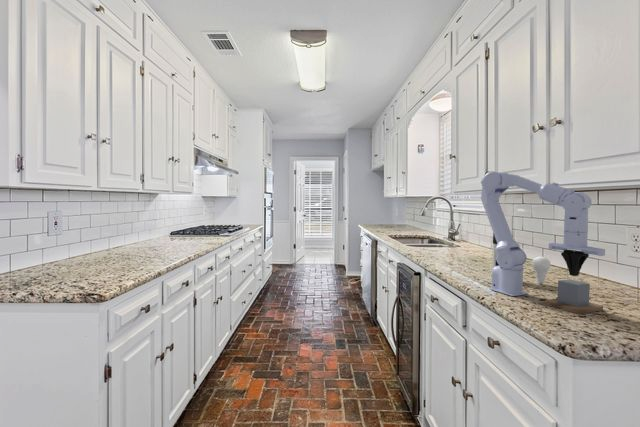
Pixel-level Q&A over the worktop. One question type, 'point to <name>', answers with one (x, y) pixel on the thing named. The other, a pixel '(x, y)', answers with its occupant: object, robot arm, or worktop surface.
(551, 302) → the brown base with post
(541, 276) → the lightbulb
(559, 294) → the blue-grey block
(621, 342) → the worktop surface
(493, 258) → the spray can
